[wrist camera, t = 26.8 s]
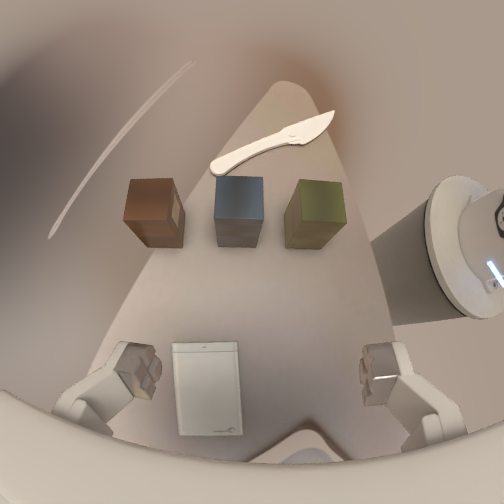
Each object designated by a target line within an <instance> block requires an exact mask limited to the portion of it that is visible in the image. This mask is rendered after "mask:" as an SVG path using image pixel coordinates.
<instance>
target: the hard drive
mask: <svg viewBox="0 0 504 504" xmlns="http://www.w3.org/2000/svg"><path fill="white" fill-rule="evenodd" d="M172 361H173V377H174V391H175V402H176V412H177V423H178V432H179V435H181V436H231V435H243V424H242V409H241V394H240V378H239V363H238V346H237V341H230V342H173V343H172Z"/></svg>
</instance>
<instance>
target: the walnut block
mask: <svg viewBox="0 0 504 504" xmlns="http://www.w3.org/2000/svg"><path fill="white" fill-rule="evenodd" d="M123 221H124V222H125V223H126V224H127V225H128V226H129V228H130V229H131V230H132V231H133V232H134V233H135V234H136V235H137V237H138V238H139V239H140V240H141V241H142V242H143V243H144V244H145V245H146V246H147V247H151V248H183V236H184V224H185V212H184V209H183V206H182V203H181V201H180V198H179V195H178V192H177V189H176V187H175V184H174V181H173V178H156V179H131V180H130V185H129V190H128V195H127V200H126V206H125V212H124V218H123Z"/></svg>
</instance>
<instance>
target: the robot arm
mask: <svg viewBox="0 0 504 504" xmlns="http://www.w3.org/2000/svg"><path fill="white" fill-rule="evenodd" d="M458 235H459V242H460V246H461V250H462V253H463V256H464V258H465V260H466V262H467V264H468V266H469V268H470V269H471V271H472V272H473V273H474V274H475V275H476V276H477V277H478V278H479V279H480V281H481V282H482V284H483V286H484V288H485V290H486V292H487V293H488V294H491V293H493V292H495V291H497V290H499V289H501V288H503V287H504V189H501V188H500V187H498V188H496V189H494V190H492V191H490V192H488V193H487V194H485V195H483V196H481V197H479V196H477V195H475V194H473V195H471V196H469V198H468V203H467V206H466V208H465V209H464V210H463V211H462V213H461V215H460V218H459V223H458ZM155 352H156V350H155V349H154V347H153V345H147V344H139V343H132V342H124V341H120V342H119V343H118V344H117V345H116V347H115V349H114V350H113V352H112V354H111V356H110V357H109V359H108V361H107V362H106V364H105V366H104V368H99V369H98V370H96V371H95V372H93V373H92V374H90V375H89V376H87V377H86V378H84V379H82V380H81V381H79V382H78V383H76V384H75V385H73V386H72V387H70V388H68V389H67V390H65V391H64V392H63V393H62V394H61V396H60V397H59V399H58V401H57V403H56V404H55V406H54V408H53V410H52V411H51V413H49V412H46V411H44V410H42V409H40V408H38V407H36V406H34V405H32V404H30V403H28V402H26V401H24V400H22V399H21V398H18V397H17V396H15V395H13V394H12V393H10V392H8V391H6V390H0V504H504V420H502V421H500V422H498V423H495V424H493V425H491V426H488V427H486V428H483V429H480V430H478V431H475V432H472V433H470V434H468V433H467V429H466V426H465V423H464V419H463V416H462V414H461V410H460V407H459V406H458V405H457V404H456V403H455V402H453V401H452V400H451V399H450V398H449V397H447V396H446V395H445V394H444V393H442V392H441V391H440V390H439V389H438V388H436V387H435V386H434V385H433V384H431V383H430V382H429V381H427V380H426V379H425V378H424V377H423V376H421V375H420V374H419V373H415V372H414V370H413V366H412V364H411V360H410V357H409V355H408V352H407V349H406V346H405V343H404V342H403V341H395V342H390V343H389V342H386V343H378V344H369V345H364V347H363V351H362V353H363V358H362V359H361V360H360V365H359V377H360V383H361V384H362V385H363V386H364V387H363V390H362V396H363V403H364V406H374V405H383V404H385V406H386V407H387V408H388V409H389V410H390V411H391V413H392V414H393V415H394V416H395V417H396V418H397V419H398V421H399V422H400V423H401V424H402V425H403V426H404V427H405V428H406V430H407V431H408V432H409V433H410V434H411V435H410V436H409V437H408V439H407V440H406V441H405V443H404V444H403V445H402V446H401V452H402V453H397V454H391V455H386V456H380V457H374V458H367V459H359V460H351V461H341V462H328V463H310V464H266V463H247V462H235V461H225V460H216V459H208V458H201V457H195V456H189V455H183V454H178V453H173V452H168V451H163V450H159V449H154V448H150V447H146V446H142V445H138V444H134V443H131V442H127V441H124V440H120V439H117V438H114V437H112V435H113V430H112V429H111V428H110V427H109V426H108V425H107V424H106V423H107V422H108V421H109V420H111V419H112V418H113V417H114V416H115V415H116V414H117V413H118V412H119V411H121V410H122V409H123V408H124V407H125V406H126V405H127V404H128V403H129V402H131V401H132V400H133V399H134V397H136V398H142V399H148V400H151V399H152V397H153V394H154V392H155V389H156V386H155V382H157V381H158V380H159V379H160V377H161V374H162V364H161V361H160V359H159V358H158V357H157V356H156V355H155Z"/></svg>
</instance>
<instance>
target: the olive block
mask: <svg viewBox="0 0 504 504" xmlns="http://www.w3.org/2000/svg"><path fill="white" fill-rule="evenodd" d="M284 221H285V248H294V249H321V248H322V247H323V246H324V245H325V244H326V243H327V242H328V241H329V240H330V239H331V238H332V237H333V236H334V235H335V234H336V233H337V232H338V231H339V230H340V229H341V228H342V227H343V226H344V225H345V224H346V223H347V221H346V213H345V205H344V197H343V190H342V183H340V182H329V181H317V180H304V179H299V182H298V184H297V186H296V189H295V191H294V193H293V196H292V198H291V200H290V202H289V205H288V207H287V209H286V212H285V214H284Z"/></svg>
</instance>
